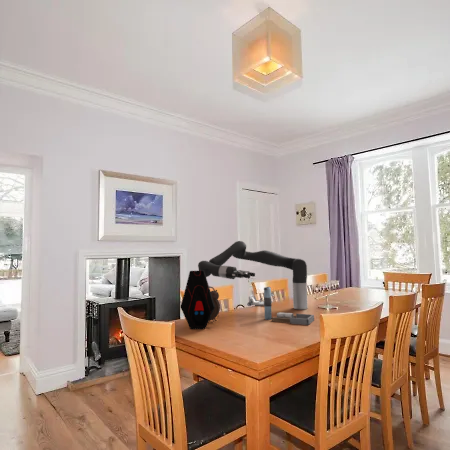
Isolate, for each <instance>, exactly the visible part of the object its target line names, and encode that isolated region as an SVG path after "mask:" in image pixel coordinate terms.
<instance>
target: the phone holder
mask: <svg viewBox="0 0 450 450" xmlns="http://www.w3.org/2000/svg"><path fill="white" fill-rule="evenodd" d="M274 296H275V295H274V293H273V292H271V297H274ZM272 303H273V300H271V304H272ZM247 306H248V307H251V306H264V299H263V298H260V299H259V300H257V298H256V297H255V295H254V294H250V295H249V296H248V302H247Z"/></svg>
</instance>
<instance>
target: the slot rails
mask: <svg viewBox="0 0 450 450" xmlns="http://www.w3.org/2000/svg"><path fill="white" fill-rule="evenodd" d="M294 318H296V315H294ZM271 322H275V323H287V324H290V318H278V317H277V316H276V317H275V316H273V317H272V319H271Z"/></svg>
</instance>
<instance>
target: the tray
mask: <svg viewBox="0 0 450 450" xmlns="http://www.w3.org/2000/svg"><path fill="white" fill-rule="evenodd" d="M295 316H296V318H290V323H289V324H292V325H303V326H304V325H305V326H309V325H310V324H312V323H313V322H314V321H315V314H306V313H296V314H295Z"/></svg>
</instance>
